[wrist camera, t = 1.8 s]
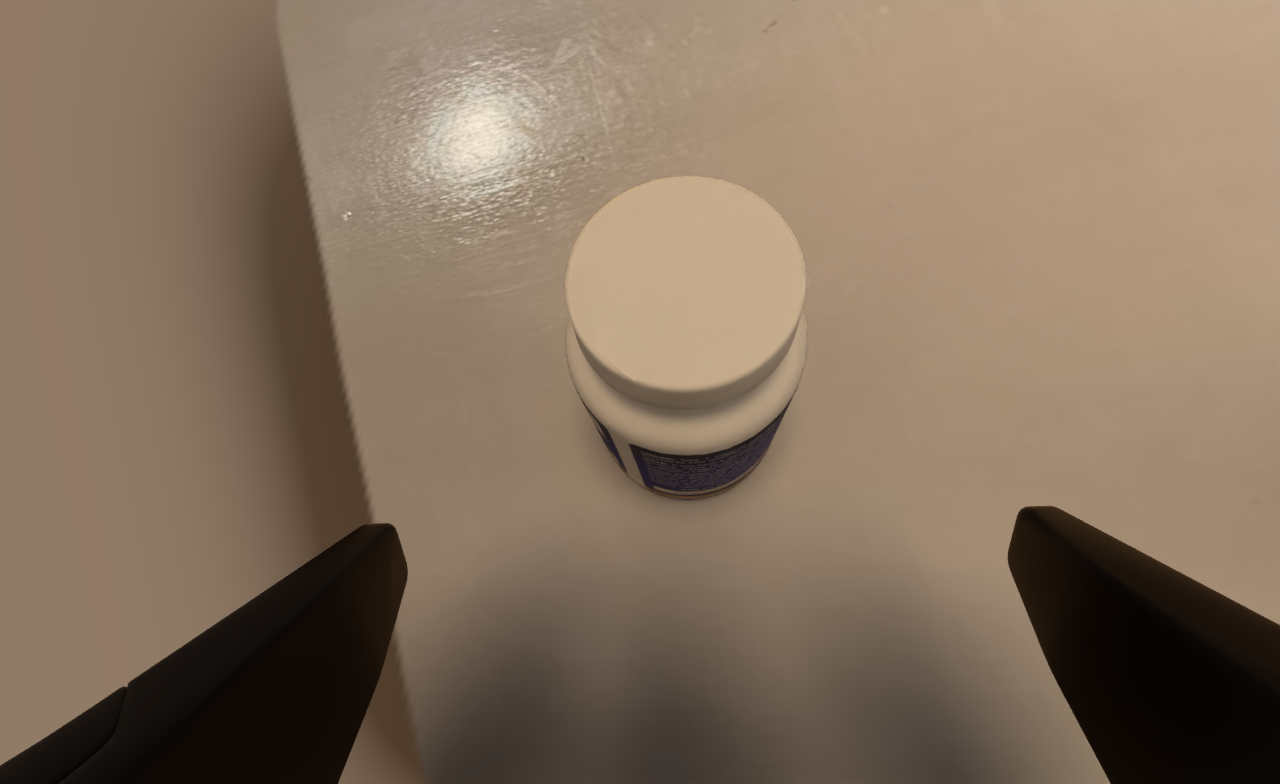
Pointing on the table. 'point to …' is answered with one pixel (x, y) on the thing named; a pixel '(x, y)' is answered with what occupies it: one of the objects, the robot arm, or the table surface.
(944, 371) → the table surface
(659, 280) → the pill bottle
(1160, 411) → the table surface
